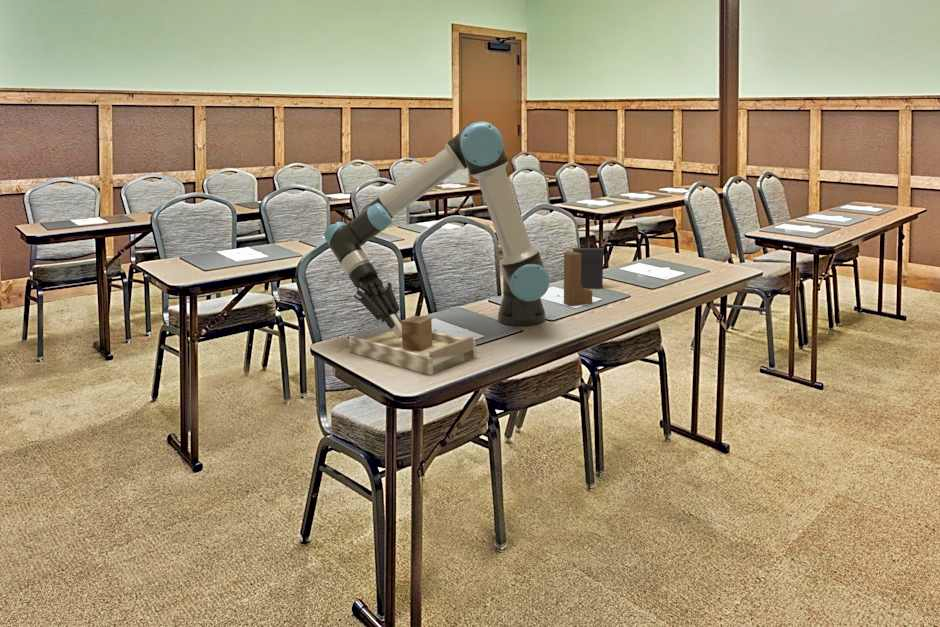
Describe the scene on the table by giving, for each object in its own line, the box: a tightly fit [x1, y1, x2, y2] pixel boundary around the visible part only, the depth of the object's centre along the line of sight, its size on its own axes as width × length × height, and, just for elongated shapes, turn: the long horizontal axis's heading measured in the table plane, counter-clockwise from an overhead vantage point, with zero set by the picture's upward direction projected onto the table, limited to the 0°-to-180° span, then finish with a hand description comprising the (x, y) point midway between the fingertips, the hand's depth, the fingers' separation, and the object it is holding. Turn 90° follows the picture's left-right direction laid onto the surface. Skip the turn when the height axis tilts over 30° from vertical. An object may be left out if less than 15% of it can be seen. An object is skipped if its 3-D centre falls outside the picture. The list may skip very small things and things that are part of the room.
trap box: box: [348, 329, 478, 376], centre depth 214 cm, size 32×18×6 cm, turn 49°
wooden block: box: [563, 251, 593, 307], centre depth 263 cm, size 9×4×18 cm, turn 109°
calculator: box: [572, 247, 604, 290], centre depth 285 cm, size 11×4×15 cm, turn 86°
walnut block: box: [400, 315, 433, 351], centre depth 212 cm, size 6×6×8 cm
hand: (402, 335), depth 214 cm, fingers closed
